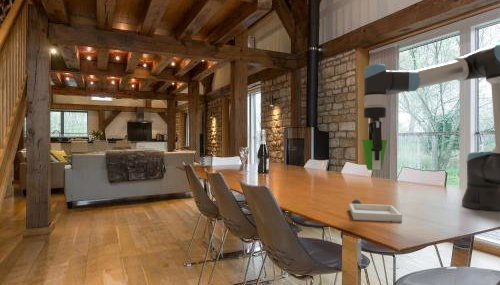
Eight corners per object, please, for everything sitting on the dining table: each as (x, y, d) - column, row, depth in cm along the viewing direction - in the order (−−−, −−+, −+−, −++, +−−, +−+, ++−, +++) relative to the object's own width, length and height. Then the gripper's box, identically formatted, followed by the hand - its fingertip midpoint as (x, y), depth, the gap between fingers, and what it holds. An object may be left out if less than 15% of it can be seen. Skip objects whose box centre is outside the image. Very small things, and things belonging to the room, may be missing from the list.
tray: (392, 211, 127) (392, 205, 127) (402, 222, 112) (402, 214, 112) (349, 209, 131) (349, 203, 131) (353, 219, 115) (353, 212, 115)
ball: (360, 207, 134) (360, 199, 134) (361, 209, 131) (361, 200, 131) (351, 207, 135) (351, 198, 135) (352, 209, 132) (352, 200, 131)
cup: (383, 168, 124) (383, 139, 124) (390, 171, 115) (391, 140, 115) (358, 168, 125) (359, 139, 125) (364, 170, 116) (364, 139, 116)
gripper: (360, 109, 131) (360, 165, 132) (368, 104, 110) (367, 171, 110) (380, 109, 130) (380, 166, 130) (391, 104, 108) (391, 171, 109)
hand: (374, 168), depth 120 cm, fingers closed on cup, 9 cm apart
